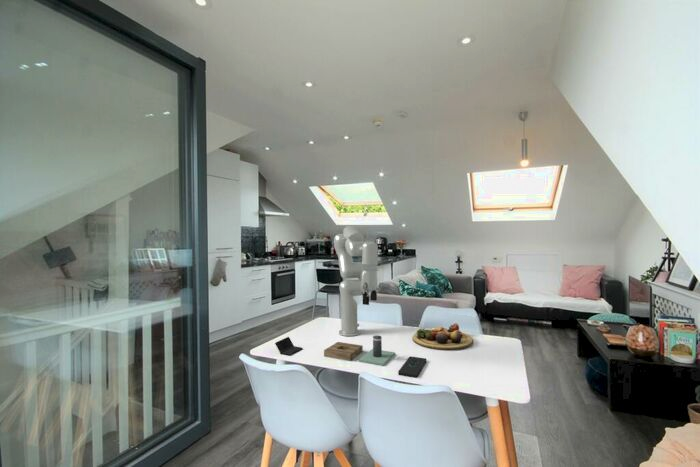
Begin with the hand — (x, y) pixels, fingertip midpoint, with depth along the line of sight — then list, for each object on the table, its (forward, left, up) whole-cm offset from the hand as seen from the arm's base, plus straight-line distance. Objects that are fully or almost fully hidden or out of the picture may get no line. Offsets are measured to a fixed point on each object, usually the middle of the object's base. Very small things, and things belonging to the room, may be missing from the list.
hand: (369, 302), depth 162 cm
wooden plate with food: (-35, +28, -26) cm, 51 cm away
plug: (+4, +5, -24) cm, 25 cm away
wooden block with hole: (+6, -12, -25) cm, 28 cm away
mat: (+4, +5, -25) cm, 26 cm away
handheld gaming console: (+14, -39, -26) cm, 48 cm away
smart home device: (+8, +24, -26) cm, 36 cm away
